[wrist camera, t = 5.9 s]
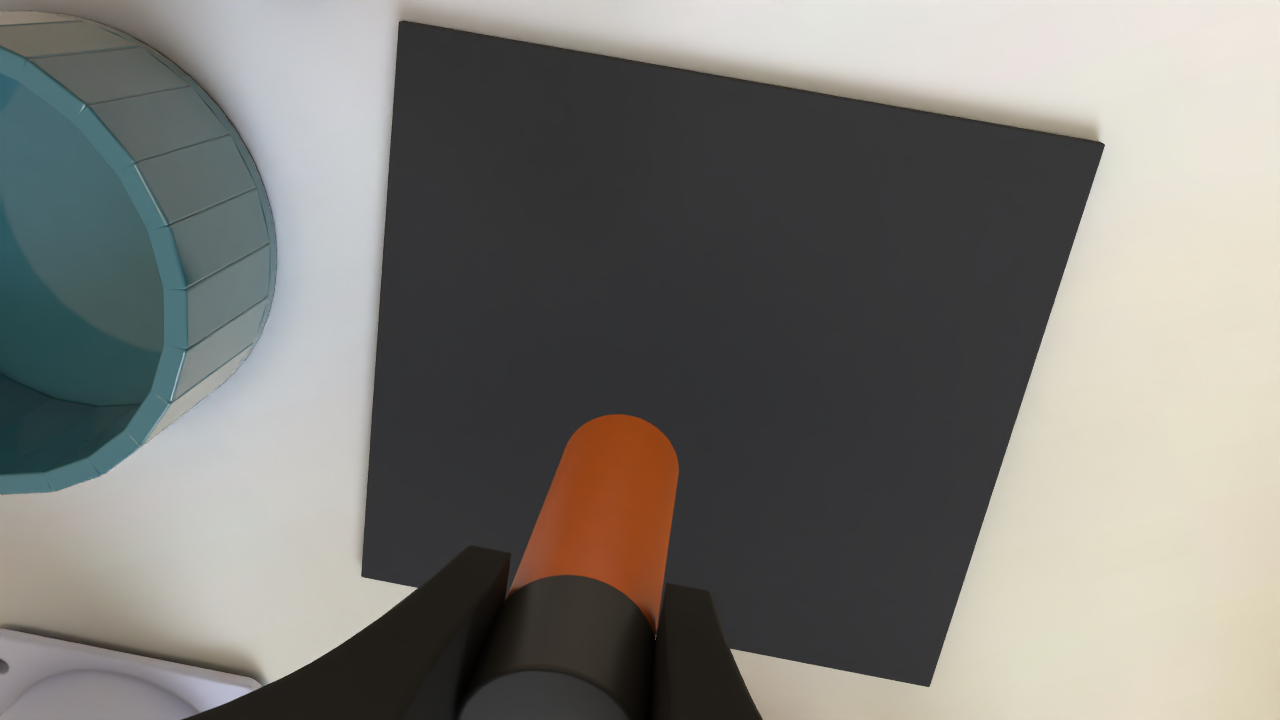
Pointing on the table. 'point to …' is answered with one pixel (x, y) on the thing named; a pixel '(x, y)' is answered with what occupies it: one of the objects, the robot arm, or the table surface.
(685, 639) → the robot arm
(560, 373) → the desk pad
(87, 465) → the teal round dish
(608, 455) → the glue stick
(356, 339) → the table surface
